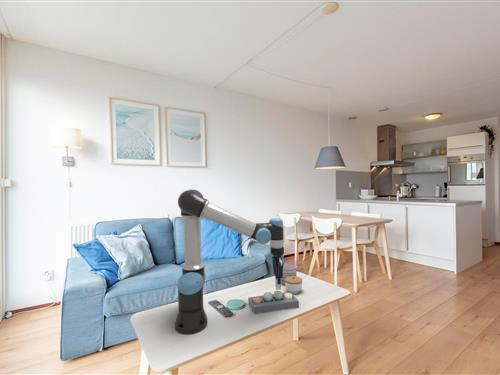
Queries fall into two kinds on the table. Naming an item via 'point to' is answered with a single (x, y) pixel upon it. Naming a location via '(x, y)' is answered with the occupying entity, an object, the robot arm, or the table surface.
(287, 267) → the can
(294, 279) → the lidded jar
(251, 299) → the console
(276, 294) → the sage button
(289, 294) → the cream button
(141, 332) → the table surface
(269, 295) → the pale blue button
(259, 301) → the terracotta button
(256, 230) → the robot arm
